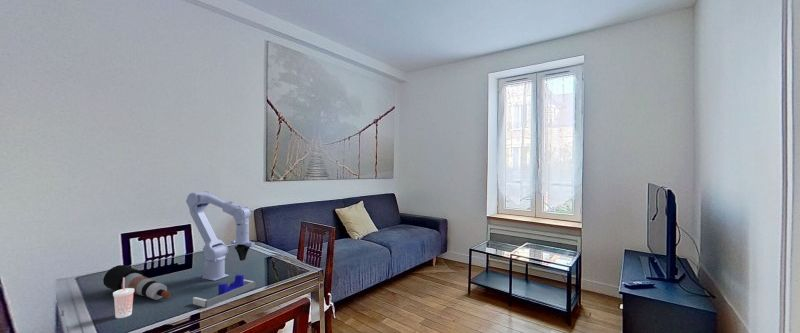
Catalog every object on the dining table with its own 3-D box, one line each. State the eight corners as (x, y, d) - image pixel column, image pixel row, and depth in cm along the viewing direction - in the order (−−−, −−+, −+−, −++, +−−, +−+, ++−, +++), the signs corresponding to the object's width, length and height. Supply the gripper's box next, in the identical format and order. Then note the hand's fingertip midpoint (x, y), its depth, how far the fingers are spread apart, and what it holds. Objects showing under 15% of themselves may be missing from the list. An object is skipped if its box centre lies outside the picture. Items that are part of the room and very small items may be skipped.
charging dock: (192, 304, 126) (192, 297, 126) (242, 284, 147) (242, 279, 147) (206, 307, 123) (206, 301, 123) (255, 287, 144) (255, 281, 144)
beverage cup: (138, 312, 119) (138, 275, 119) (120, 320, 113) (120, 281, 113) (126, 310, 120) (126, 274, 120) (108, 318, 114) (108, 279, 114)
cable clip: (234, 287, 143) (234, 274, 143) (243, 288, 143) (243, 275, 143) (215, 298, 131) (215, 284, 131) (225, 299, 131) (225, 285, 131)
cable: (161, 313, 128) (150, 296, 123) (110, 293, 139) (98, 276, 135) (184, 294, 136) (174, 277, 131) (134, 276, 148) (123, 260, 143)
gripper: (225, 232, 153) (225, 260, 153) (245, 235, 147) (245, 264, 147) (237, 230, 160) (237, 256, 160) (258, 232, 154) (258, 260, 154)
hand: (242, 260), depth 154 cm, fingers closed
